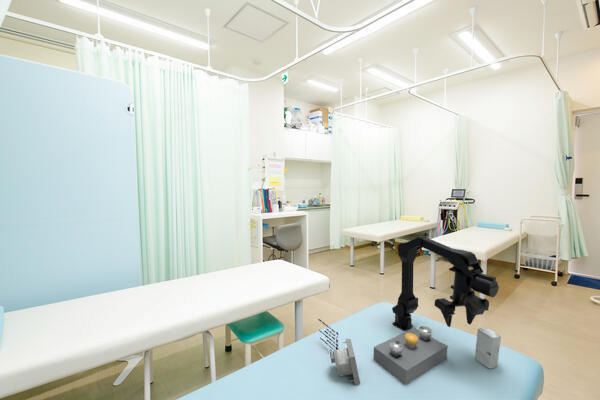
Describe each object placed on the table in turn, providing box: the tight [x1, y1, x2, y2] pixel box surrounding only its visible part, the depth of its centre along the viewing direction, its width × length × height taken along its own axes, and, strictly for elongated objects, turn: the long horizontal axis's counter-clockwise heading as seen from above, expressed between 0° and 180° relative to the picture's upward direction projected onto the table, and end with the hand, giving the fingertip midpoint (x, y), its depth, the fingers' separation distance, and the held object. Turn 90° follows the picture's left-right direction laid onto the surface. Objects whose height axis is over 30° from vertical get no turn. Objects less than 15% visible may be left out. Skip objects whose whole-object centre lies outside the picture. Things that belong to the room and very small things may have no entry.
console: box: [373, 327, 448, 385], centre depth 98 cm, size 14×25×5 cm, turn 122°
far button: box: [418, 325, 433, 342], centre depth 103 cm, size 4×4×5 cm
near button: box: [389, 340, 403, 359], centre depth 93 cm, size 4×4×5 cm
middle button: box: [405, 333, 418, 350], centre depth 98 cm, size 4×4×5 cm
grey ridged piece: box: [318, 318, 361, 386], centre depth 96 cm, size 27×11×10 cm, turn 33°
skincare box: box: [474, 326, 502, 369], centre depth 97 cm, size 6×4×12 cm
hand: (458, 325), depth 98 cm, fingers open, 9 cm apart
